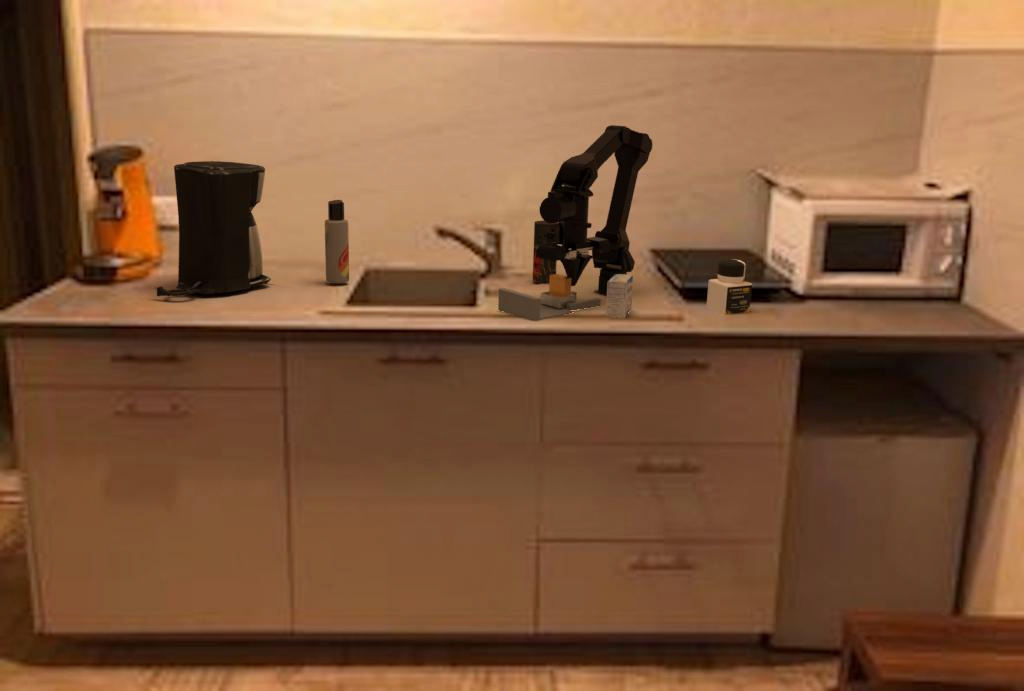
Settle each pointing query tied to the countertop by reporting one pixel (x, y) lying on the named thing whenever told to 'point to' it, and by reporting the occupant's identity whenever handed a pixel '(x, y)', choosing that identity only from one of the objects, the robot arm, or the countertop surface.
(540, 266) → the deodorant
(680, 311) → the countertop surface
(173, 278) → the countertop surface
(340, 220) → the lotion bottle
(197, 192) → the coffee maker
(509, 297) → the press bed
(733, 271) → the medicine bottle
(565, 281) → the ram
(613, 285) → the medicine box
